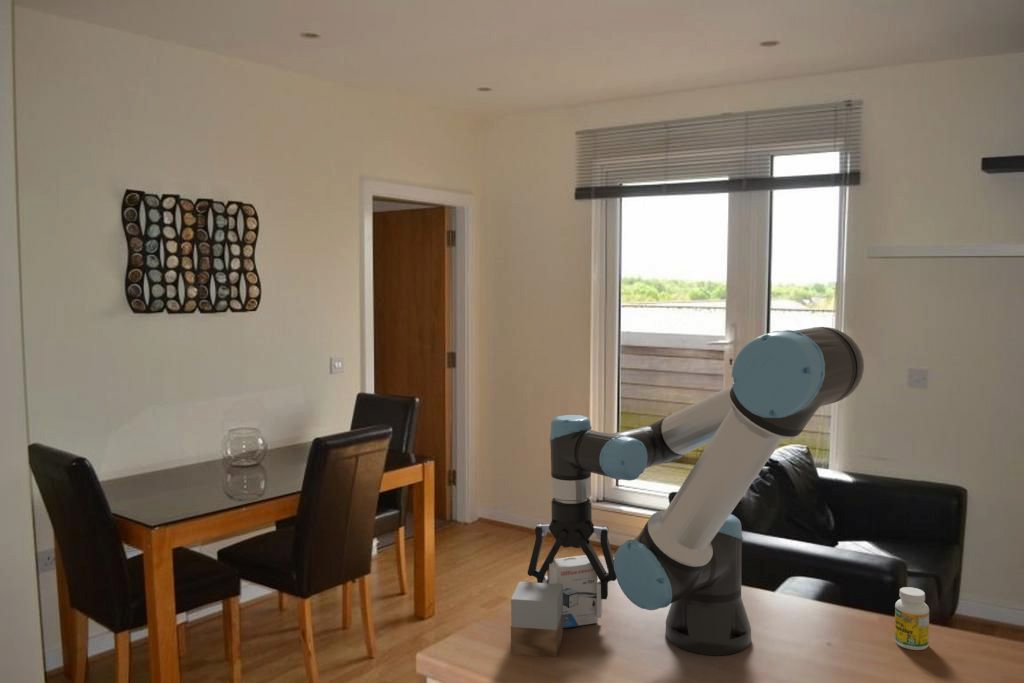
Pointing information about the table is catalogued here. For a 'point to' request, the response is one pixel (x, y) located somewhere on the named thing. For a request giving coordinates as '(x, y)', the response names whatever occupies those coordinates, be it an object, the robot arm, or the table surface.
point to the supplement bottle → (912, 619)
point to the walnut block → (536, 640)
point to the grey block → (537, 605)
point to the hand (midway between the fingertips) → (572, 613)
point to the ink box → (576, 589)
